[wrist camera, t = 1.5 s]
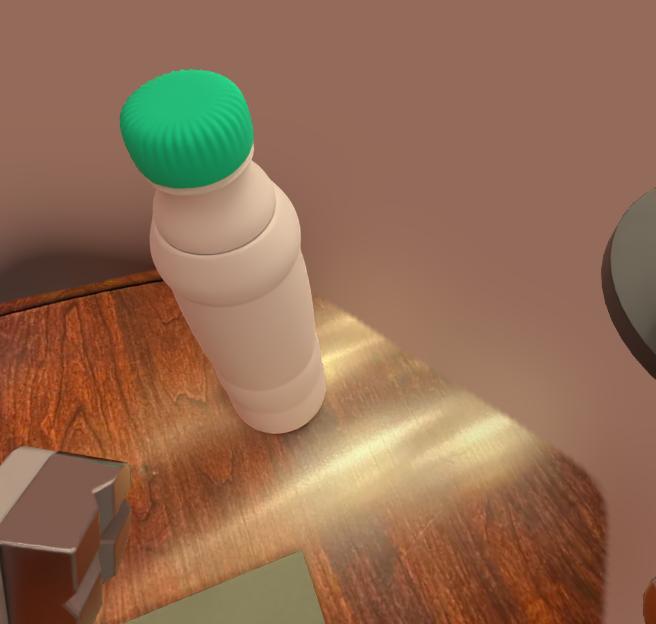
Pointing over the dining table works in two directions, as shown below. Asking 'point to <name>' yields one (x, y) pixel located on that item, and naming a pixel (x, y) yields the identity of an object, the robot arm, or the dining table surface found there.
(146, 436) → the dining table surface
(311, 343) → the water bottle
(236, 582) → the mat
